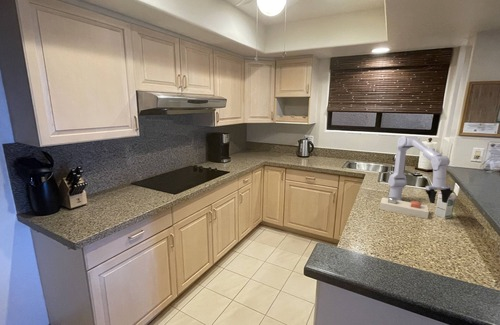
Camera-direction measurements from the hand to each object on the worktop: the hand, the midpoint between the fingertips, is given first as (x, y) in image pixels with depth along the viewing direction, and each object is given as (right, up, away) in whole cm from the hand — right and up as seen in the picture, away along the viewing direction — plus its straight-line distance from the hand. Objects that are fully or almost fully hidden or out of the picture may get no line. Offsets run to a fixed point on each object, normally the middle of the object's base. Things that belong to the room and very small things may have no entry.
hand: (438, 202), depth 134 cm
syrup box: (+9, -9, +8) cm, 16 cm away
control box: (-10, -7, +15) cm, 20 cm away
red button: (-5, -6, +12) cm, 14 cm away
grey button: (-15, -5, +18) cm, 24 cm away
